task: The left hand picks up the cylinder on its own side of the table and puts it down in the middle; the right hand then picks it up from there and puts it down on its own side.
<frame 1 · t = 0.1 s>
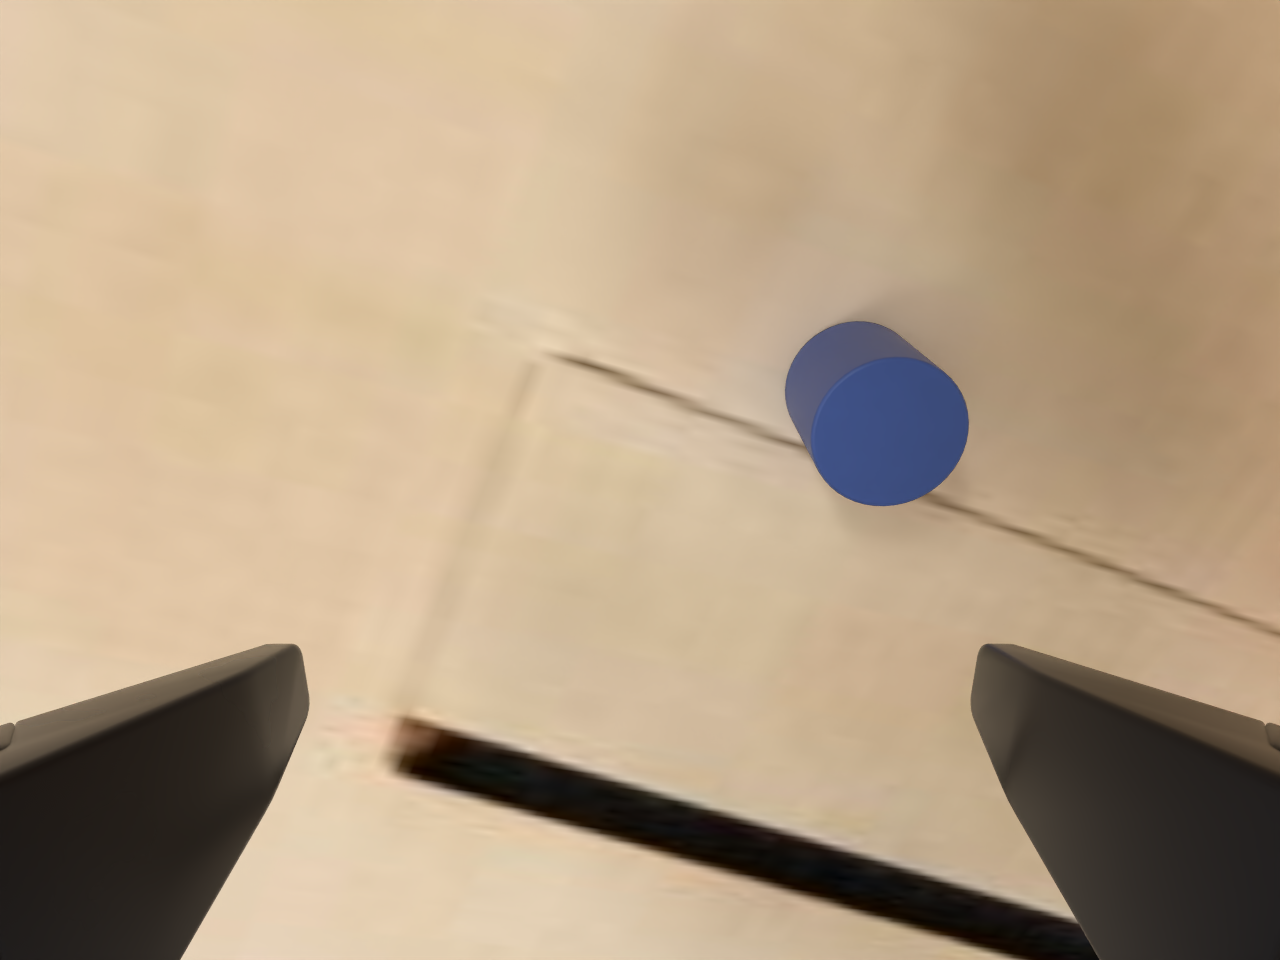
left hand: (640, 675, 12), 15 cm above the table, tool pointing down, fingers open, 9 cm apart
cylinder: (851, 387, 25), on the table
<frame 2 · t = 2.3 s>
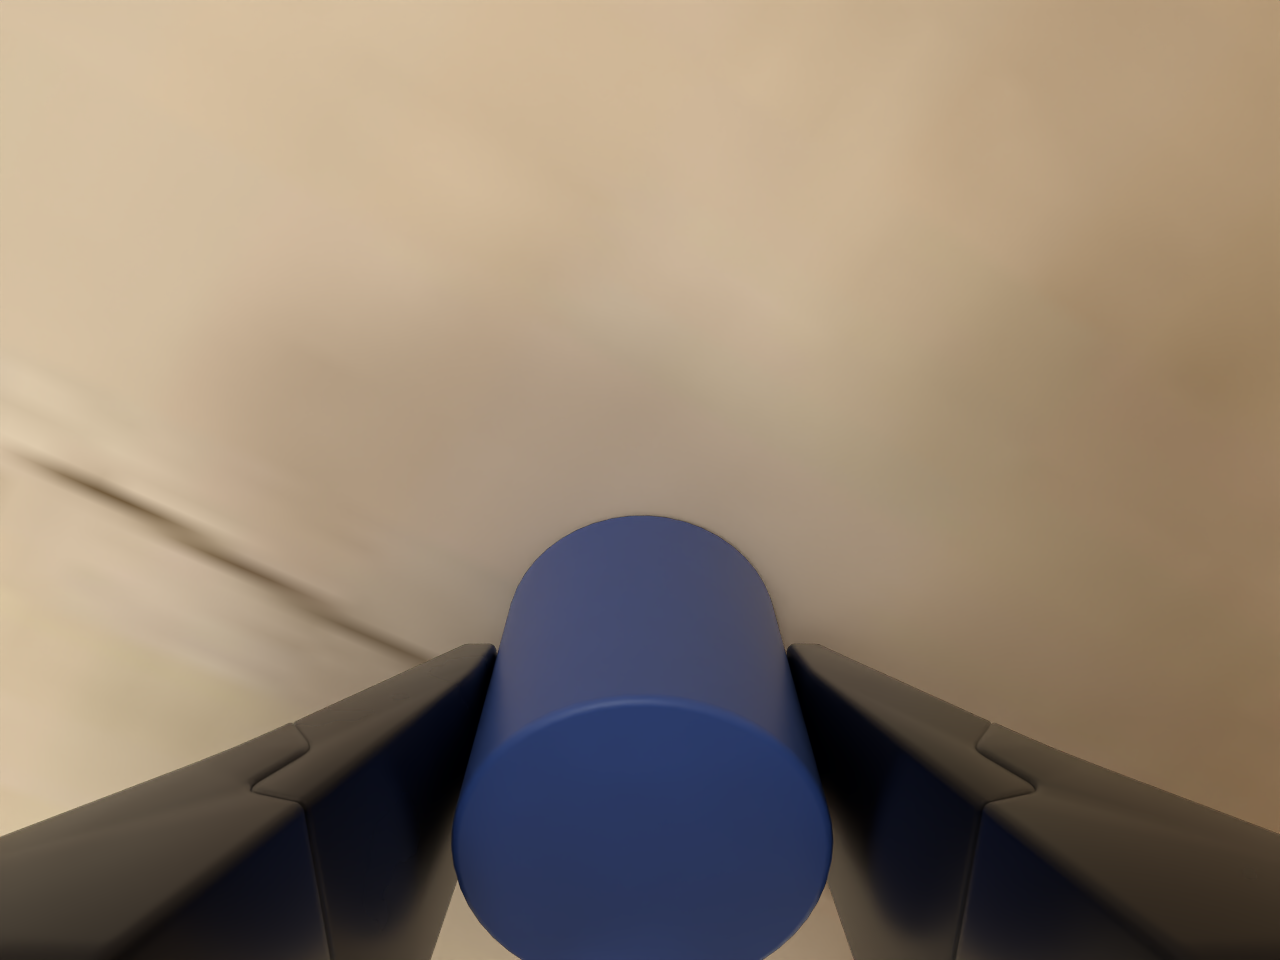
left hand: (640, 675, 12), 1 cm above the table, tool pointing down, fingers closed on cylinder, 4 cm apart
cylinder: (641, 635, 13), on the table, touching left hand
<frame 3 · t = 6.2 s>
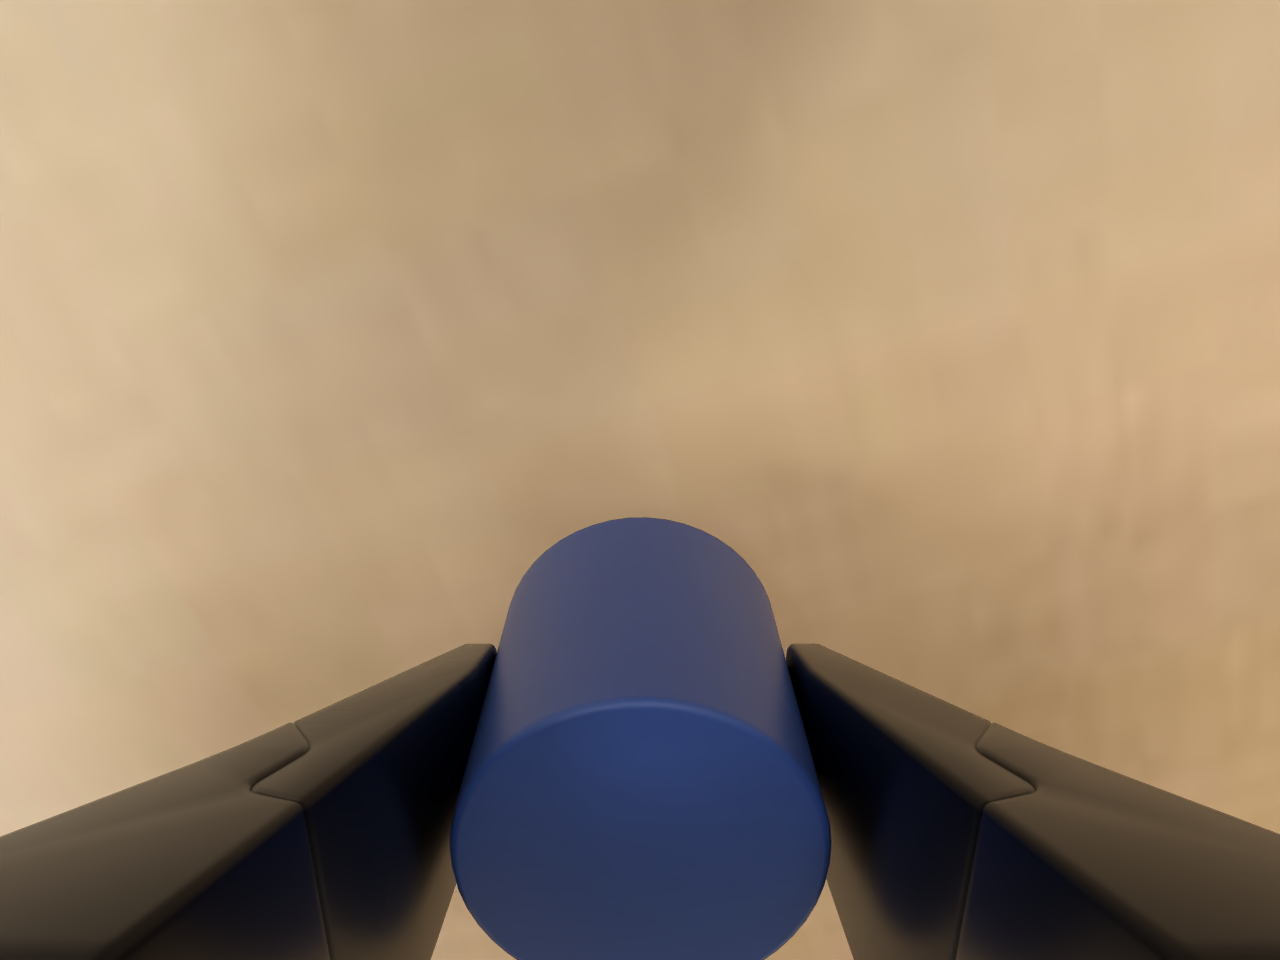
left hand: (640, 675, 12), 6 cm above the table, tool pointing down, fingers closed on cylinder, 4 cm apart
cylinder: (640, 636, 13), point 5 cm above the table, touching left hand
when the left hand's fingers open (2 cm above the table, at t = 10.3 s): cylinder stays where it is, on the table.
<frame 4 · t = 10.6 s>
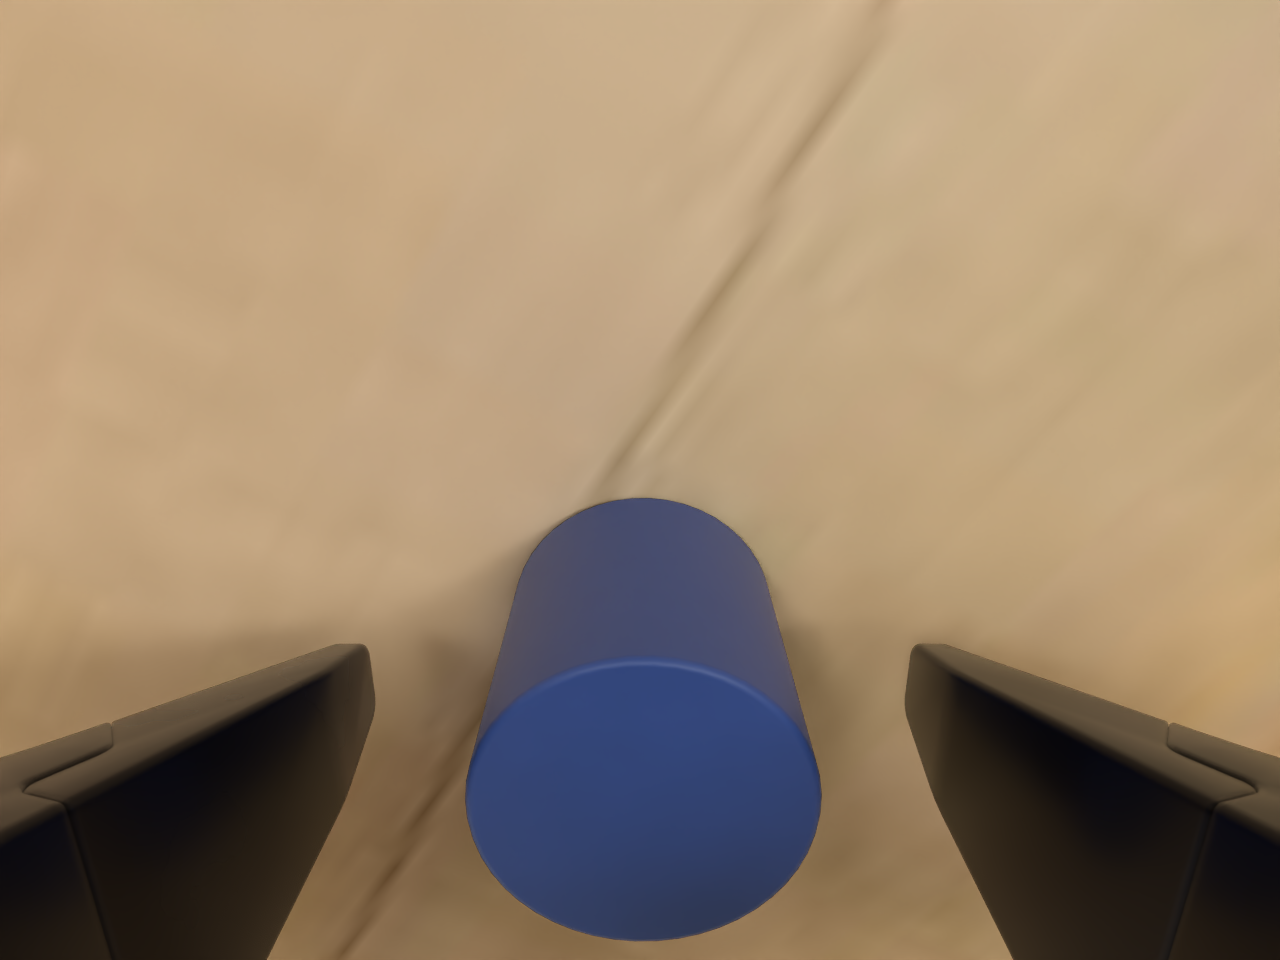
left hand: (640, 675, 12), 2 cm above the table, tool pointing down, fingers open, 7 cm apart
cylinder: (642, 612, 13), on the table
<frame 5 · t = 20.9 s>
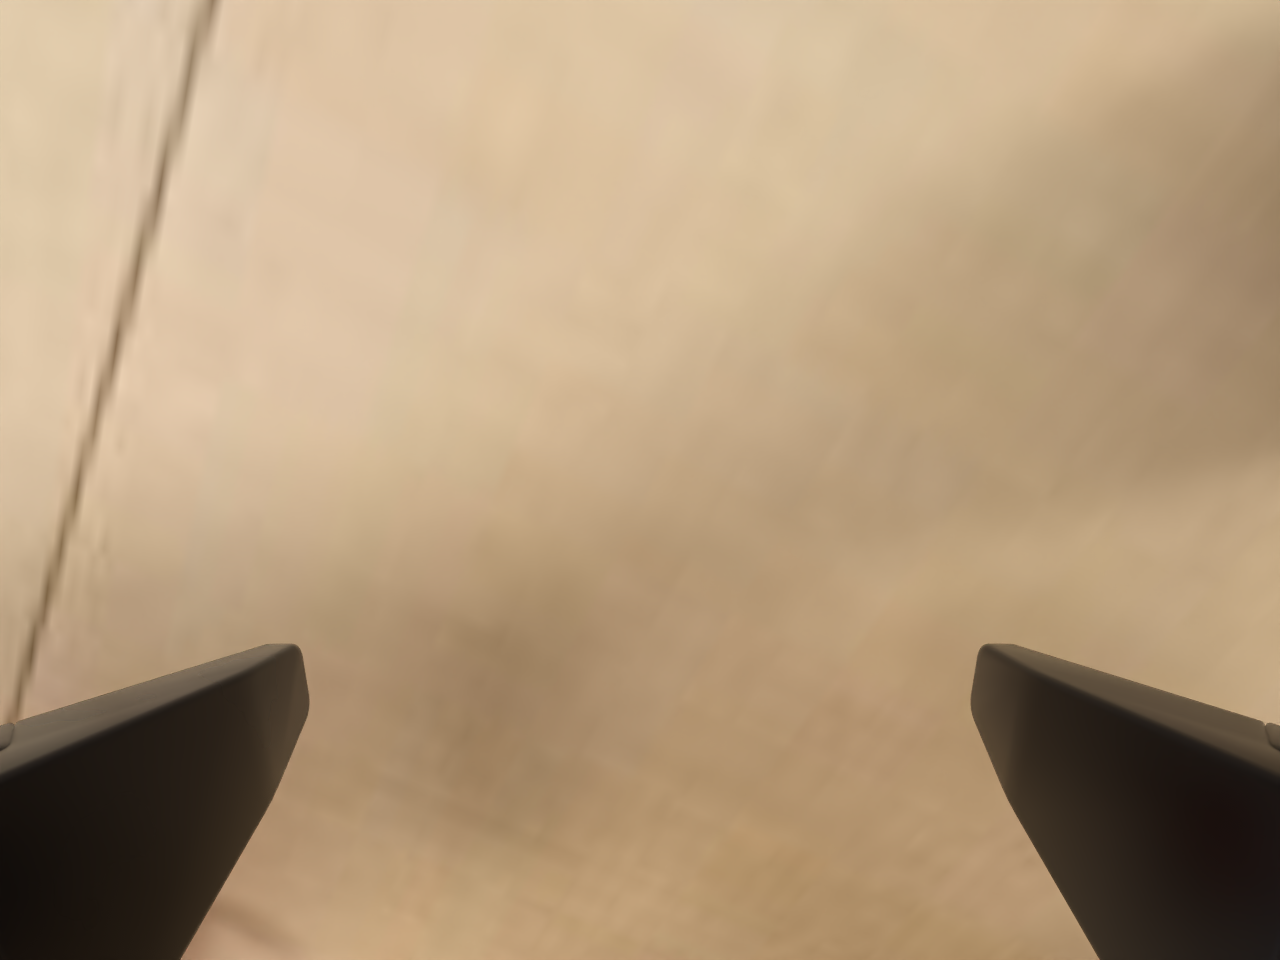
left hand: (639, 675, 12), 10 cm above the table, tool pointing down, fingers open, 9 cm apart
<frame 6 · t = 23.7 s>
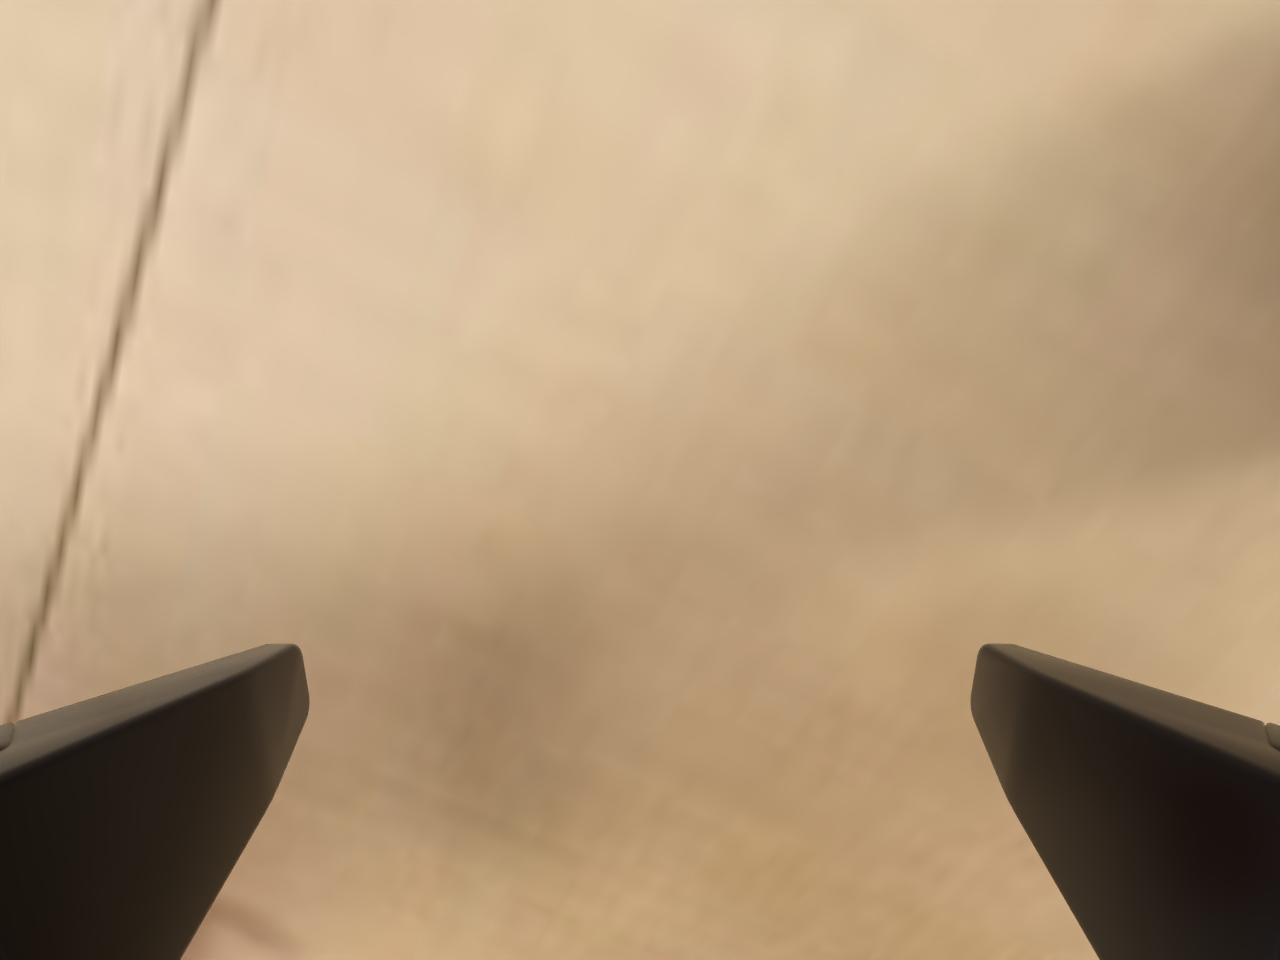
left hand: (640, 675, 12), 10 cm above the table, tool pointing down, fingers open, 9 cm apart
when the right hand's fingers open (0 cm above the table, at t = 26.7 s): cylinder stays where it is, on the table.
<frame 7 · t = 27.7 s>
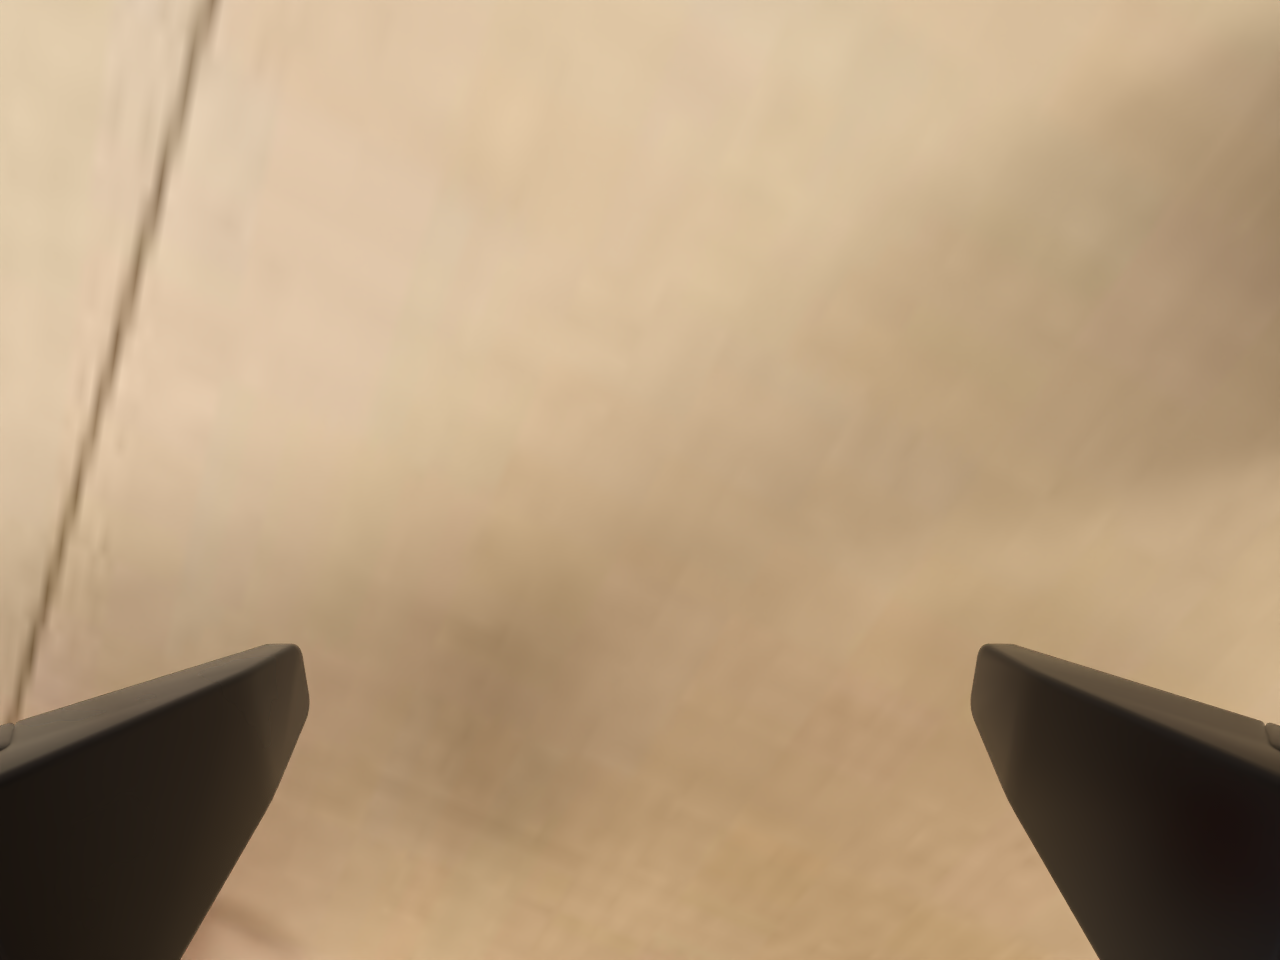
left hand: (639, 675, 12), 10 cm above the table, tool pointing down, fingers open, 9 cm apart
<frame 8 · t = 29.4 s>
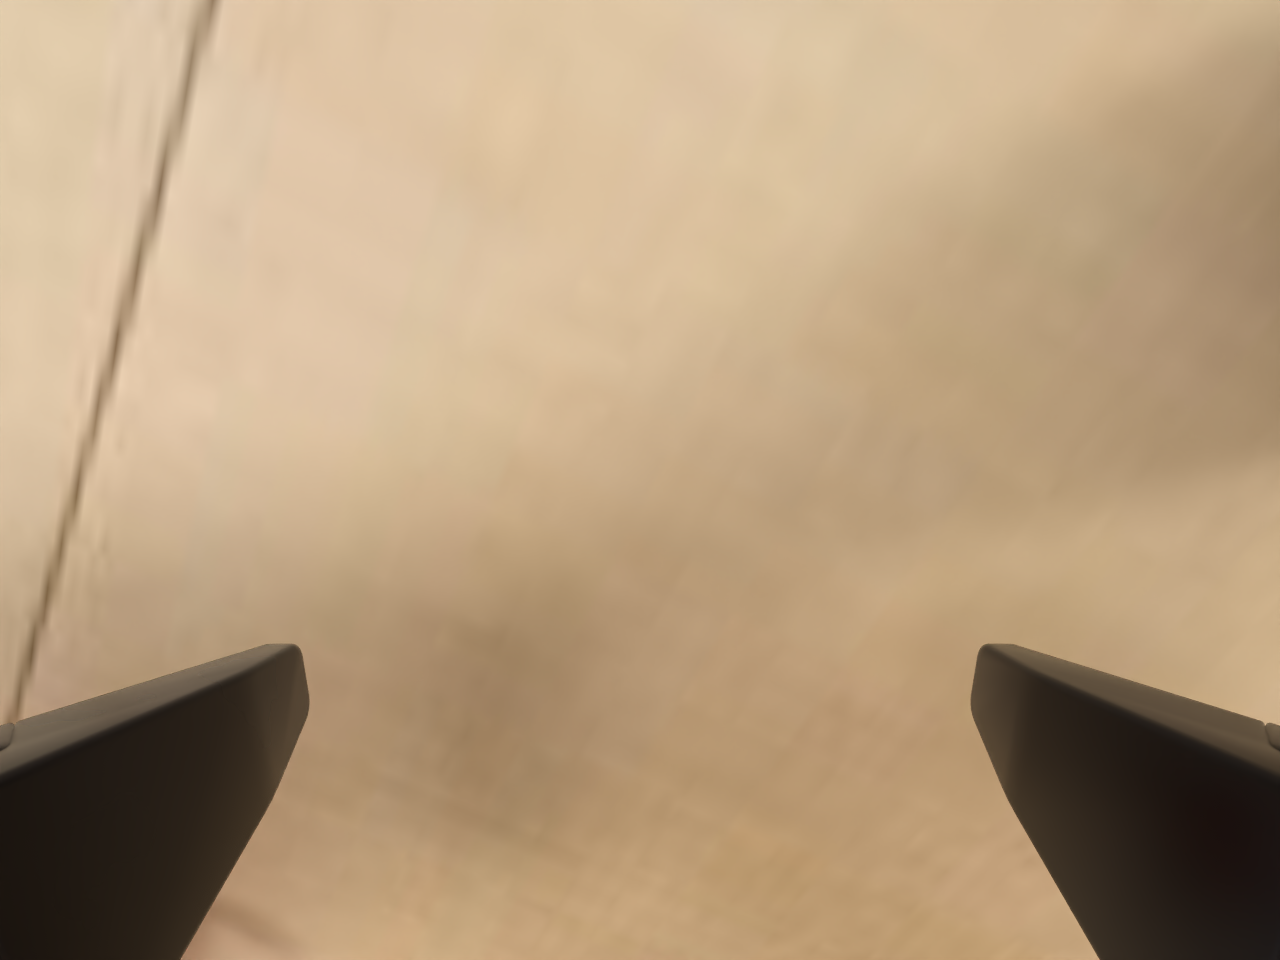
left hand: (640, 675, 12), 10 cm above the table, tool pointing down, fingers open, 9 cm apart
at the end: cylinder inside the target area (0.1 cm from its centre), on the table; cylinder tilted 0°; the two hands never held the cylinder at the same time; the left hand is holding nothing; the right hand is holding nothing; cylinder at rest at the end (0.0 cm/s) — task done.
